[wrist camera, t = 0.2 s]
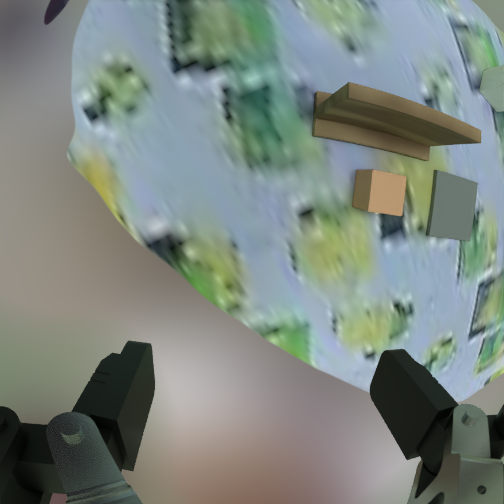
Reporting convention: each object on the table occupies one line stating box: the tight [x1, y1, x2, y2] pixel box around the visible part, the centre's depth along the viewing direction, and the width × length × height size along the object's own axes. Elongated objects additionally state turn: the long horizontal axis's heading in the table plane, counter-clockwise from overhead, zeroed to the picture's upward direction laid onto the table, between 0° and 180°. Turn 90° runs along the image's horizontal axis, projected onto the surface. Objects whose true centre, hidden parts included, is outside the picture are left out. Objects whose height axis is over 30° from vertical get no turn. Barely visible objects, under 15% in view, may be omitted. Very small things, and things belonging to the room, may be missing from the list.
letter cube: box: [352, 170, 406, 216], centre depth 35 cm, size 5×5×5 cm
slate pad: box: [426, 170, 478, 241], centre depth 38 cm, size 10×10×1 cm
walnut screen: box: [312, 82, 481, 161], centre depth 29 cm, size 6×18×12 cm, turn 85°
